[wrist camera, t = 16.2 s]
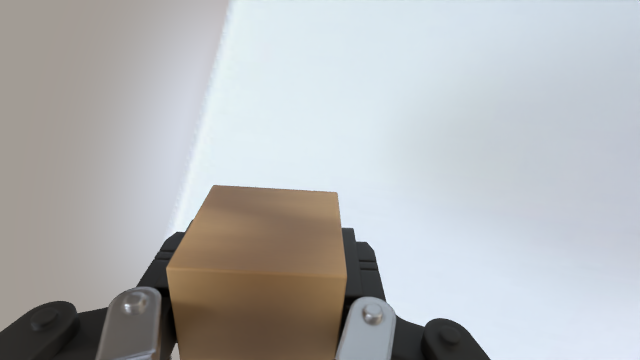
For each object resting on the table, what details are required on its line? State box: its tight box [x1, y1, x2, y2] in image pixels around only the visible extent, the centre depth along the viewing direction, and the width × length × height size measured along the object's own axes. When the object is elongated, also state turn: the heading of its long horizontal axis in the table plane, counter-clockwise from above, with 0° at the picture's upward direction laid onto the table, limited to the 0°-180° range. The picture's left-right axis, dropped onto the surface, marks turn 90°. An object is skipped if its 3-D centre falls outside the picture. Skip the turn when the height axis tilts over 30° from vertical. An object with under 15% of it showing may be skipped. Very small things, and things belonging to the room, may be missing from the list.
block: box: [166, 185, 347, 360], centre depth 12 cm, size 4×4×4 cm
